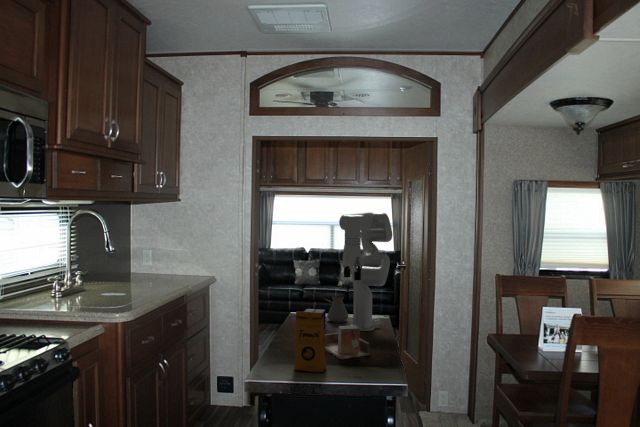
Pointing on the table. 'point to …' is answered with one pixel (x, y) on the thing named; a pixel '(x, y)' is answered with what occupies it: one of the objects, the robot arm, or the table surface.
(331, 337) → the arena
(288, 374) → the table surface
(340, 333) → the small box
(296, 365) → the coffee package
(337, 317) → the coffee pot
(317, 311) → the puzzle cube
